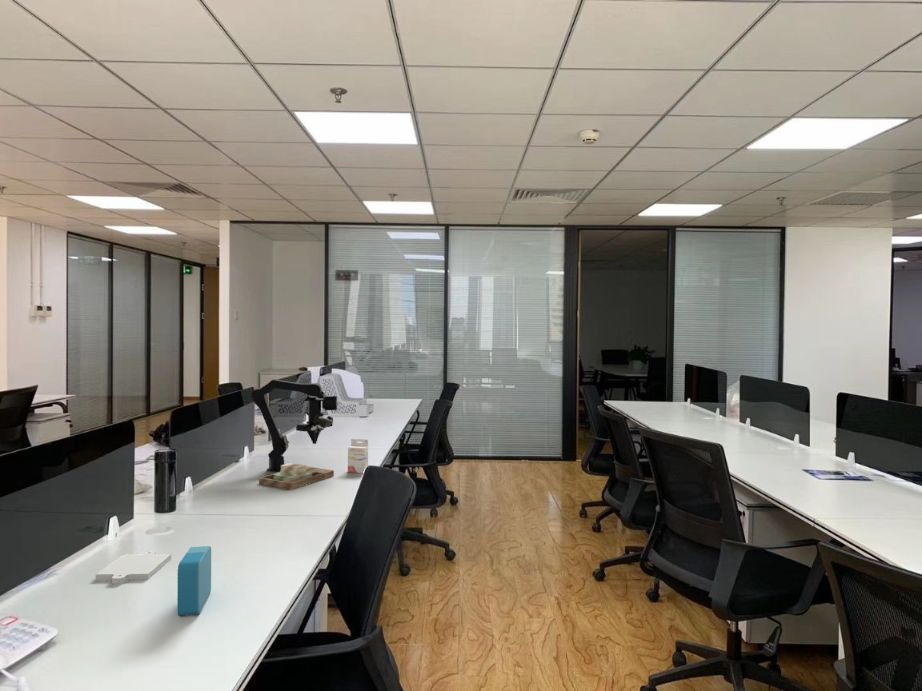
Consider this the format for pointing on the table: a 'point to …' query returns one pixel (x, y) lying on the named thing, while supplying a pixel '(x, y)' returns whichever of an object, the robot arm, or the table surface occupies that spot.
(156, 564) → the mounting plate
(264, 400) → the robot arm
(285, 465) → the maple slab
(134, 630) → the table surface
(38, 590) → the table surface
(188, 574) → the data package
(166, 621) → the table surface
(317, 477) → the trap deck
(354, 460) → the ink cartridge box
